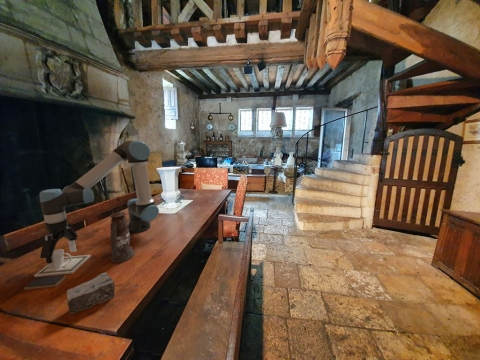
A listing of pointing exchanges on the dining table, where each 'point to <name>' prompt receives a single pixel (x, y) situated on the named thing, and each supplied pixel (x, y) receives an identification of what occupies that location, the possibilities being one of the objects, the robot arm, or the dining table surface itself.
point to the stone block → (90, 293)
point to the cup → (60, 258)
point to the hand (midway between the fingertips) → (63, 259)
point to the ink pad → (45, 282)
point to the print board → (67, 269)
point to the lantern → (117, 230)
